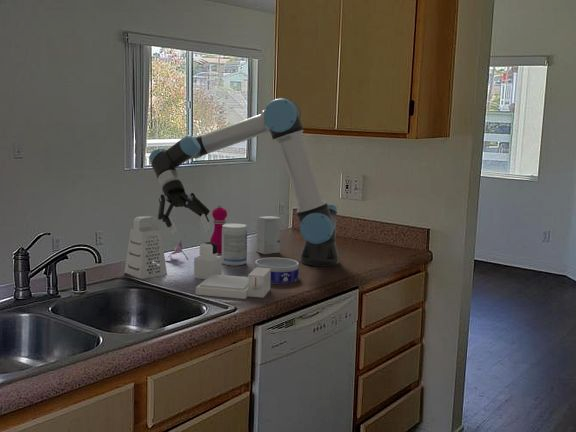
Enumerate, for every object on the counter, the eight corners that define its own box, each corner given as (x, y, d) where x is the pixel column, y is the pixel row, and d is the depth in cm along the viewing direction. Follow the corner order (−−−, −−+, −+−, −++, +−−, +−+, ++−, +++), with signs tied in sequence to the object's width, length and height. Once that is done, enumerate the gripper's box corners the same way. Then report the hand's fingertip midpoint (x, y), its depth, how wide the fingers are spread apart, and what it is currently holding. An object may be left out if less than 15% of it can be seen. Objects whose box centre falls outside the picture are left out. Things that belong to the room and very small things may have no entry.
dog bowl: (285, 272, 237) (286, 255, 236) (306, 282, 223) (306, 265, 222) (247, 275, 230) (248, 258, 229) (266, 286, 216) (266, 268, 215)
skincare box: (263, 254, 263) (264, 218, 261) (255, 251, 268) (256, 216, 266) (280, 252, 268) (281, 217, 266) (272, 249, 273) (273, 215, 271)
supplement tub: (251, 264, 245) (252, 226, 243) (228, 267, 240) (229, 228, 237) (238, 259, 253) (239, 222, 251) (216, 261, 248) (217, 224, 245)
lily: (182, 257, 258) (170, 237, 255) (204, 250, 251) (191, 229, 249) (166, 272, 248) (153, 251, 245) (188, 265, 242) (175, 243, 239)
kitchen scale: (272, 287, 214) (272, 266, 213) (261, 300, 199) (261, 278, 198) (211, 282, 218) (211, 261, 217) (195, 294, 203) (196, 272, 202)
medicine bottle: (204, 273, 229) (204, 240, 227) (222, 276, 226) (222, 242, 225) (193, 278, 223) (194, 243, 221) (211, 280, 220) (212, 246, 218)
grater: (167, 274, 227) (167, 217, 223) (141, 278, 219) (141, 220, 216) (150, 268, 234) (150, 213, 231) (124, 272, 226) (124, 216, 223)
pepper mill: (229, 251, 268) (230, 203, 265) (225, 254, 261) (226, 205, 258) (212, 249, 269) (213, 202, 266) (207, 253, 262) (208, 204, 259)
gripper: (196, 190, 249) (217, 235, 240) (137, 193, 233) (156, 241, 224) (204, 177, 244) (225, 223, 235) (144, 180, 229) (164, 228, 219)
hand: (192, 232), depth 230 cm, fingers open, 13 cm apart
